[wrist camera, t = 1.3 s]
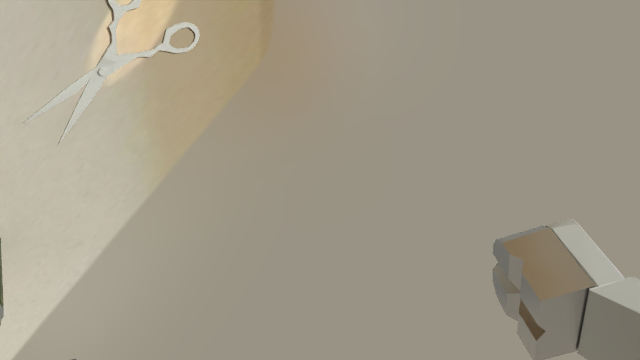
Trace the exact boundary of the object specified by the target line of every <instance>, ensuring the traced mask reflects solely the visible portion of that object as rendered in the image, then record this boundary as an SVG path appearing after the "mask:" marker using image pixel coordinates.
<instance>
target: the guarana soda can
mask: <svg viewBox="0 0 640 360" xmlns="http://www.w3.org/2000/svg"><path fill="white" fill-rule="evenodd" d="M2 318H3V285H2V261H1V238H0V325H1V320H2Z"/></svg>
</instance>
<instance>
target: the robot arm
mask: <svg viewBox="0 0 640 360" xmlns="http://www.w3.org/2000/svg"><path fill="white" fill-rule="evenodd" d="M493 254H494V256H495V258H496V259H497V261H498V263H497V264H496V266H495V267H494V268H493V283H494V287H495V292H496V295H497V297H498V299H499V302H500V304H501V306H502V308H503V310H504V311H505V313H506V315H508V316H510V317H512V318H513V319H515V320H517V321H518V331H517V334H518V335H519V337H520V339H521V340H522V342H523V344H524V345H525V347H526V349H527V350H528V352H529V354H530V356H531V357H532V359H533V360H544V359H547V358H551V357H555V356H559V355H563V354H567V353H570V352H574V351H578V354H580V355H581V356H583V357H584V358H586V359H588V360H640V280H639V279H637V278H634V277H629V278H624V277H623V276H622V274H621V273H620V272H619V271H618V270H617V269H616V267H615V266H614V265H613V264H612V263H611V262H610V261H609V260H608V258H607V257H606V256H605V255H604V253H603V252H602V251H601V250H600V249H599V248H598V246H597V245H596V244H595V243H594V242H593V241H592V239H591V238H590V237H589V236H588V235H587V234H586V232H585V231H584V230H583V229H582V228H581V226H579V224H578V223H577V222H576V221H574V220H572V219H567V220H563V221H560V222H556V223H553V224H549V225H546V226H541V227H537V228H534V229H531V230H527V231H524V232H520V233H517V234H513V235H510V236H507V237H504V238H500V239H496V240H495V242H494V244H493ZM72 360H76V359H72Z"/></svg>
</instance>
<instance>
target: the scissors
mask: <svg viewBox="0 0 640 360" xmlns="http://www.w3.org/2000/svg"><path fill="white" fill-rule="evenodd" d="M108 2H109V4H110V6H111V7H112V9H113V15H114V19H113V21H112V22H111V23H110V25H109V28H110V31H111V39H112V41H111V43H110V44H109V46H108V47H107V49H106V51H105V52H104V54H103V56H102V58H101V59H100V61H99V63H98V64H97V66H96V67H95V68H94V69H92V70H91V71H89V72H88V73H87V74H85V75H84V76H82V77H81V78H80V79H78V80H77V81H75V82H74V83H73V84H71V85H70V86H69V87H67V88H66V89H65V90H63V91H62V92H61V93H60V94H58V95H57V96H56V97H55V98H53V99H52V100H51V101H50V102H48V103H47V104H46V105H45V106H43V107H42V108H41V109H39V110H38V111H37V112H35V113H34V114H33V115H32V116H31V117H29V118H28V119H27V120H26V121H25V122H24V123H26V122H28V121H29V120H31V119H33V118H35V117H36V116H38V115H40V114H42V113H43V112H45V111H47V110H49V109H50V108H52V107H54V106H55V105H57V104H59V103H60V102H62V101H63V100H65V99H67V98H69V97H70V96H72V95H73V94H75V93H76V92H78V91H79V90H80V89H81V88H82V87H83V86H84V85H85V84H86V83H87V82H88V84H87V86H86V88H85V90H84V92H83V94H82V96H81V98H80V100H79V102H78V104H77V106H76V108H75V110H74V112H73V114H72V117H71V119H70V121H69V123H68V125H67V127H66V129H65V132H64V134H63V136H62V138H61V140H60V142H61V141H62V139H63V138H64V137H65V135H66V134H67V132H68V131H69V130H70V128H71V127H72V126H73V124H74V123H75V122H76V120H77V119H78V118H79V116H80V115H81V114H82V112H83V111H84V109H85V108H86V107H87V105H88V104H89V103H90V101H91V100H92V98H93V97H94V95H95V94H96V92H97V91H98V90H99V88H100V87H101V85H102V84H103V82H104V81H105V79H106V78H107V76H108V75H110V74H112V73H114V72H115V71H116V70H118V69H119V68H121V67H122V66H124V65H125V64H127V63H129V62H131V61H132V60H134V59H135V58H138V57H151V56H152V55H153V54H155V53H156V52H157V51H158V50H160V51H168V52H172V53H182V52H186V51H188V50H191V49H192V48H193V47H194V46H195V45H196V44H197V42H198V40H199V30H198V28H197V27H196V26H195V25H193V24H192V23H187V22H181V23H178V24H175V25H172V26H171V27H169V28H167V29H166V31H165V35H164V39H163V43H160V44H158V45H157V46H156V47H155V48H153V49H151V50H148V51H143V52H137V53H124V54H118V55H117V49H116V27H117V23H118V21H119V19H120V18H121V17H122V15H123V14H124V13H125V12H126V11H128V10H131V9H135V8H138V7H139V5H140V2H141V0H132V1H131V2H130V3H129V4H127V5H119V4H117V3H116V2H115V1H114V0H108ZM185 27H189V28H190V29H192V30H193V31H194V33H195V38H194V41H193V42H192V43H191V44H190V45H189V46H188V47H186V48H179V49H177V48H173V47H172V46H171V45H170V44H169V40H170V37H171V35H172V34H173V33H175V32H176V31H177V30H179V29H181V28H185ZM24 123H23V124H24ZM20 126H21V125H20ZM60 142H59V143H60ZM58 145H59V144H58Z"/></svg>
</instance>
